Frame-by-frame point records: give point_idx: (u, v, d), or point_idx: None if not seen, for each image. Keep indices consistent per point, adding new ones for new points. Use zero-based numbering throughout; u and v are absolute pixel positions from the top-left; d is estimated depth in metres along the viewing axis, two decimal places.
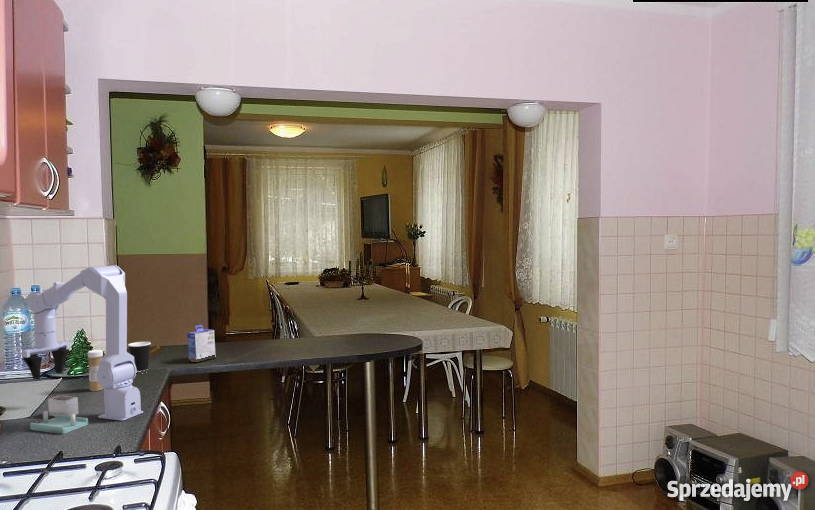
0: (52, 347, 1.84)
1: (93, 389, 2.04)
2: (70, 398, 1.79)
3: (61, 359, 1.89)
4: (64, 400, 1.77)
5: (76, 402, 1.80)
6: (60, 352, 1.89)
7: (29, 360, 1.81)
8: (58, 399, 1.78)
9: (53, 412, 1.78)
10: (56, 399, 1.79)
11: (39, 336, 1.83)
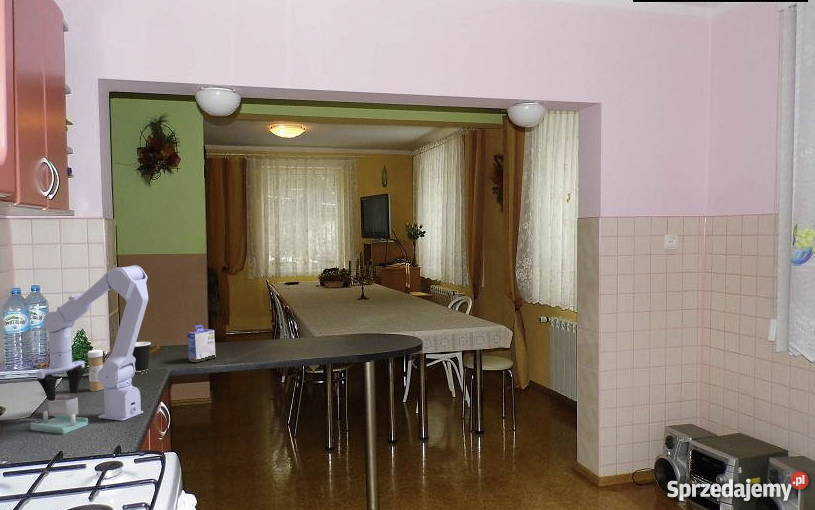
0: (67, 367, 1.77)
1: (93, 389, 2.04)
2: (70, 398, 1.79)
3: (76, 379, 1.82)
4: (64, 400, 1.77)
5: (76, 402, 1.80)
6: (75, 372, 1.82)
7: (43, 381, 1.75)
8: (58, 399, 1.78)
9: (53, 412, 1.78)
10: (56, 399, 1.79)
11: (54, 356, 1.76)
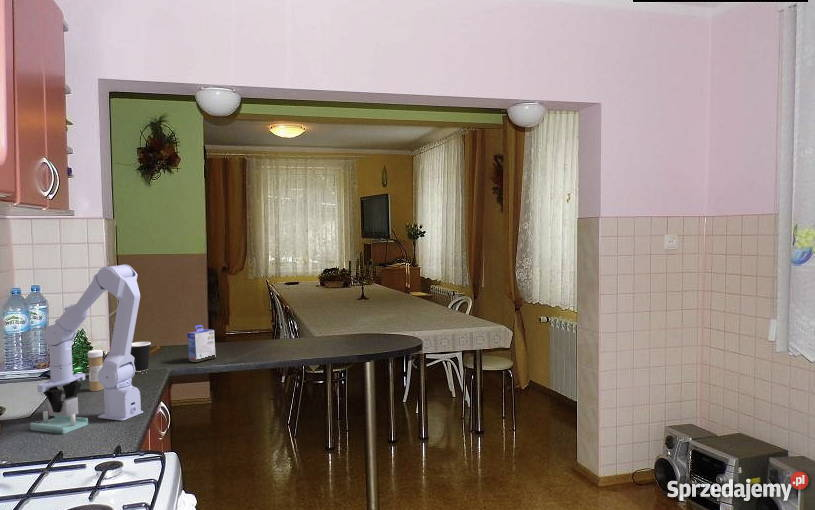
0: (68, 380, 1.78)
1: (93, 389, 2.04)
2: (70, 397, 1.79)
3: (73, 393, 1.81)
4: (64, 400, 1.77)
5: (76, 402, 1.80)
6: (71, 386, 1.81)
7: (49, 393, 1.76)
8: None
9: (53, 412, 1.78)
10: None
11: (55, 369, 1.76)
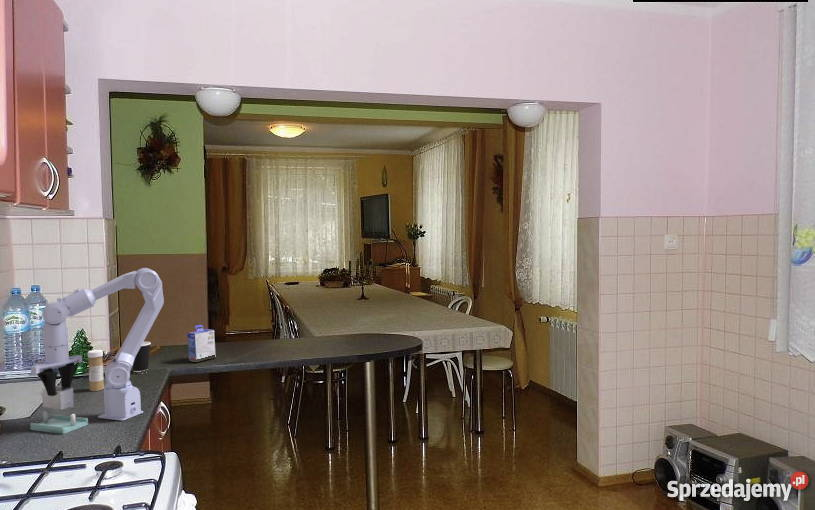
0: (63, 362, 1.68)
1: (93, 389, 2.04)
2: (65, 388, 1.70)
3: (68, 376, 1.71)
4: (58, 391, 1.67)
5: (72, 394, 1.70)
6: (67, 368, 1.71)
7: (43, 375, 1.67)
8: None
9: (47, 403, 1.69)
10: None
11: (49, 350, 1.66)
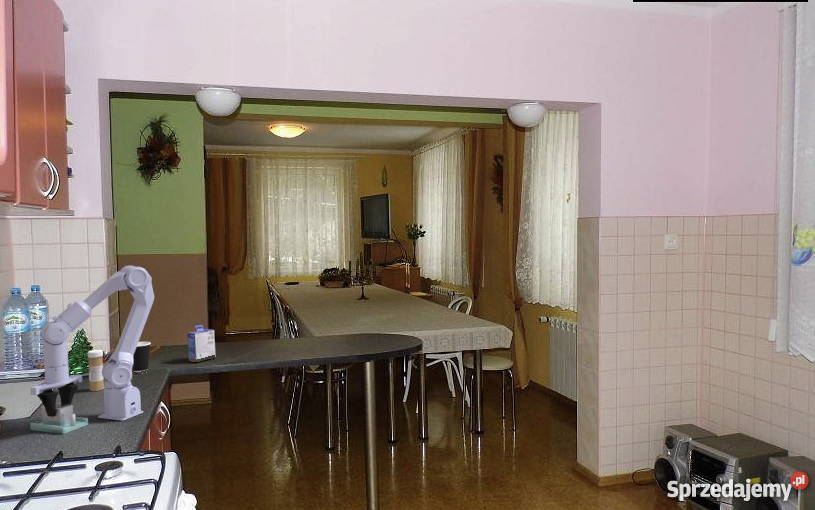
0: (64, 382, 1.66)
1: (93, 389, 2.04)
2: (65, 405, 1.67)
3: (68, 396, 1.69)
4: (58, 408, 1.65)
5: (71, 410, 1.68)
6: (67, 388, 1.69)
7: (43, 396, 1.65)
8: None
9: (46, 420, 1.67)
10: None
11: (49, 370, 1.64)
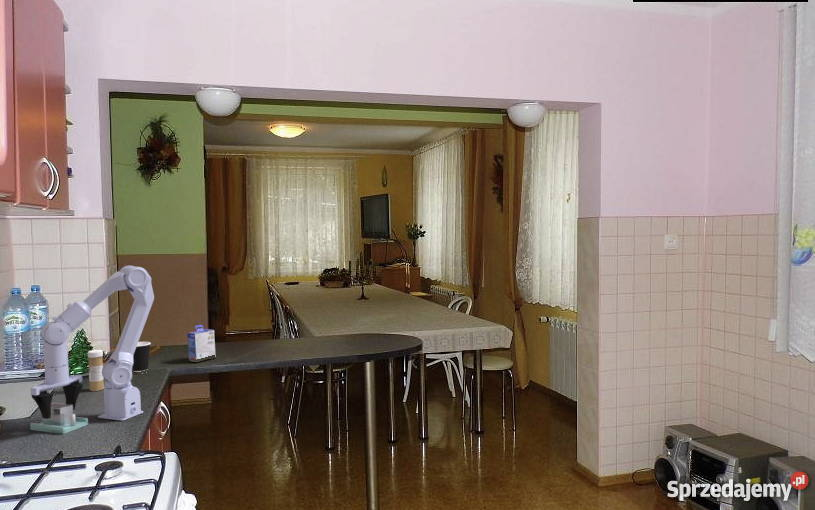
0: (64, 382, 1.66)
1: (93, 389, 2.04)
2: (65, 405, 1.67)
3: (73, 395, 1.70)
4: (58, 408, 1.65)
5: (71, 410, 1.68)
6: (72, 387, 1.70)
7: (38, 397, 1.63)
8: (52, 407, 1.66)
9: (46, 420, 1.67)
10: None
11: (49, 371, 1.64)
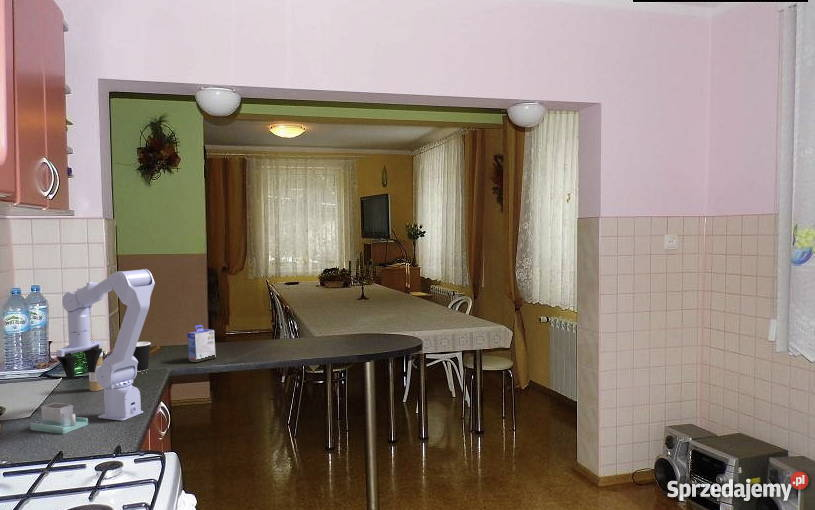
0: (86, 346, 1.82)
1: (93, 389, 2.04)
2: (65, 405, 1.67)
3: (94, 358, 1.87)
4: (58, 408, 1.65)
5: (71, 410, 1.68)
6: (93, 351, 1.87)
7: (63, 359, 1.79)
8: (52, 407, 1.66)
9: (46, 420, 1.67)
10: (50, 406, 1.67)
11: (73, 335, 1.80)
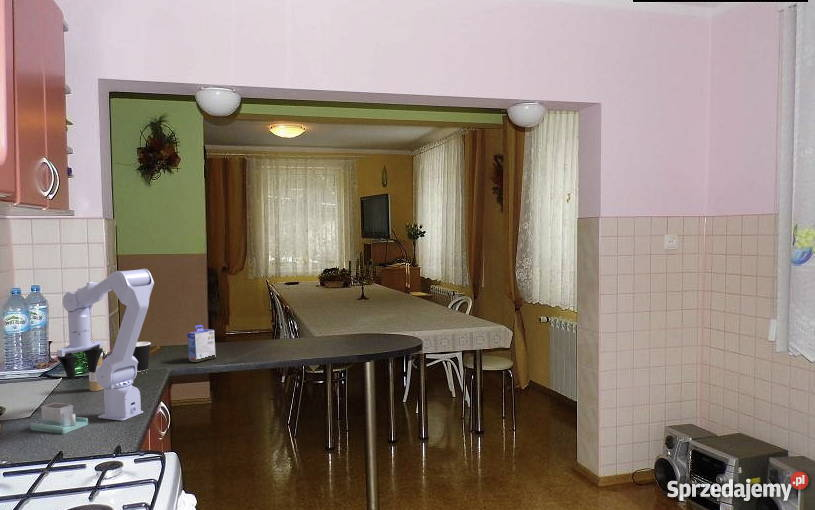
0: (86, 346, 1.82)
1: (93, 389, 2.04)
2: (65, 405, 1.67)
3: (94, 358, 1.87)
4: (58, 408, 1.65)
5: (71, 410, 1.68)
6: (93, 351, 1.87)
7: (63, 359, 1.80)
8: (52, 407, 1.66)
9: (46, 420, 1.67)
10: (50, 406, 1.67)
11: (73, 335, 1.81)
